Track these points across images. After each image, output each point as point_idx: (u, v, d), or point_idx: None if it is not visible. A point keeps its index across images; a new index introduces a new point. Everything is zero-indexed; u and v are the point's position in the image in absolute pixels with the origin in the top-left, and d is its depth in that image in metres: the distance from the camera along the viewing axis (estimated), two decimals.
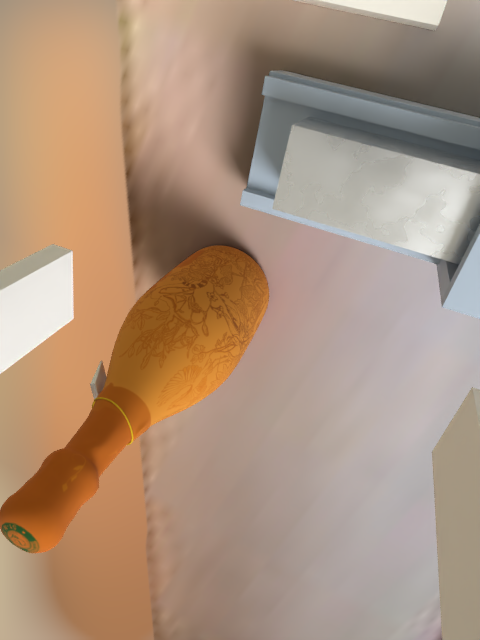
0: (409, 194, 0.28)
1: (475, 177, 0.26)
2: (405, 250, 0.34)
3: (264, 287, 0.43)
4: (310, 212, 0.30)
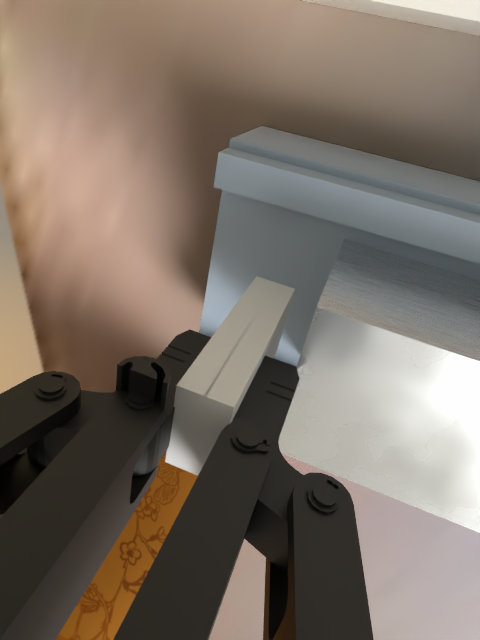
0: None
1: None
2: None
3: None
4: (353, 469, 0.14)
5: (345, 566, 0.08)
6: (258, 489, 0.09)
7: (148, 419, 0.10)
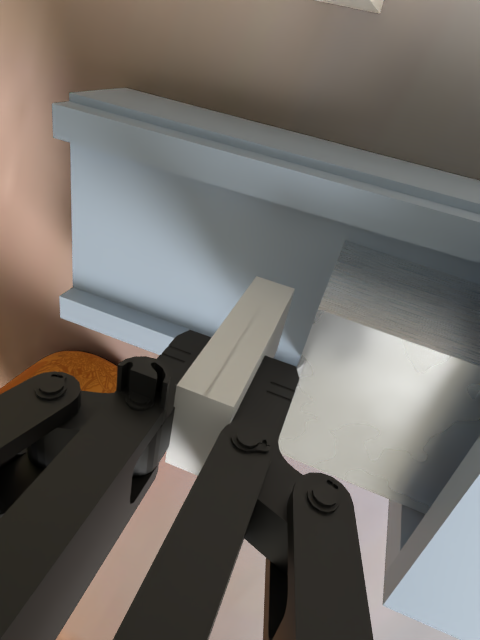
0: None
1: None
2: None
3: None
4: (350, 470, 0.14)
5: (345, 566, 0.08)
6: (258, 489, 0.09)
7: (148, 419, 0.10)
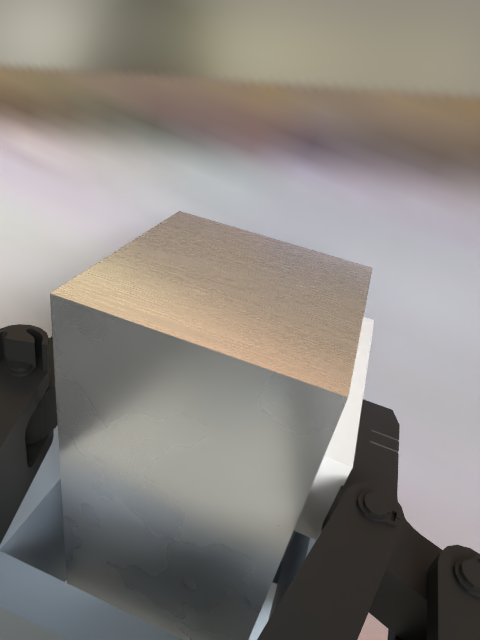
0: (131, 608, 0.13)
1: (70, 517, 0.12)
2: None
3: None
4: None
5: None
6: (384, 567, 0.08)
7: (32, 382, 0.10)
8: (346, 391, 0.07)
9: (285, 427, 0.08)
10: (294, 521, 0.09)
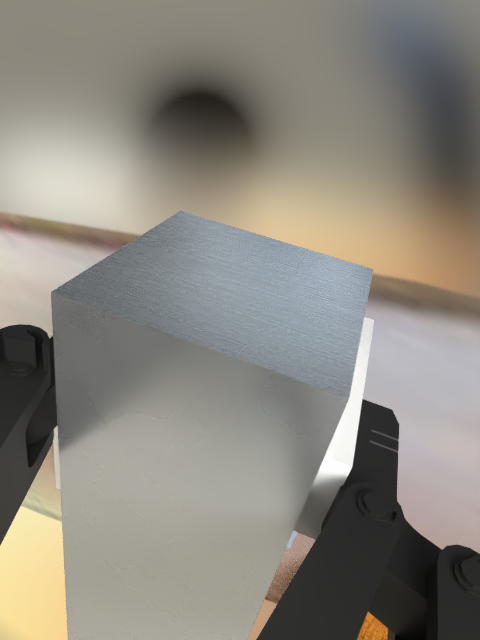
0: (129, 608, 0.13)
1: (69, 517, 0.12)
2: None
3: None
4: None
5: None
6: (383, 567, 0.08)
7: (33, 382, 0.10)
8: (347, 392, 0.07)
9: (285, 427, 0.08)
10: (294, 522, 0.09)
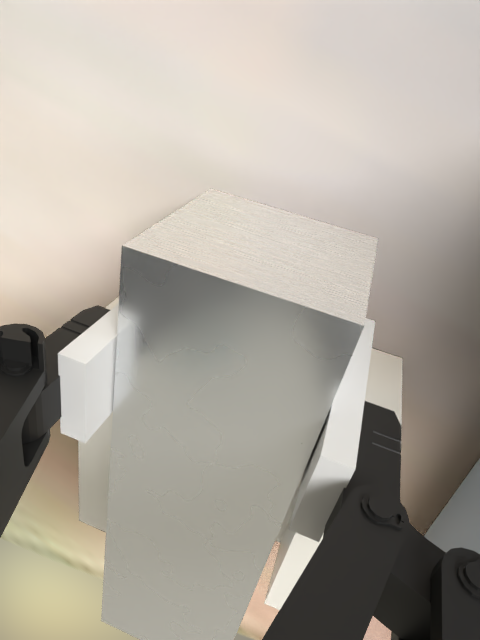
0: (165, 533, 0.15)
1: (117, 449, 0.14)
2: None
3: None
4: None
5: None
6: (388, 571, 0.08)
7: (28, 382, 0.10)
8: (362, 322, 0.09)
9: (312, 354, 0.10)
10: (315, 438, 0.11)
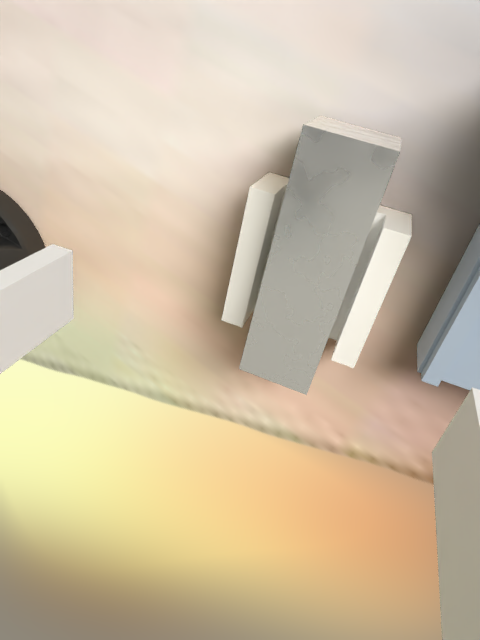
0: (293, 286, 0.30)
1: (277, 235, 0.29)
2: None
3: None
4: (309, 365, 0.33)
5: None
6: None
7: None
8: (399, 151, 0.24)
9: (378, 167, 0.25)
10: (376, 210, 0.26)
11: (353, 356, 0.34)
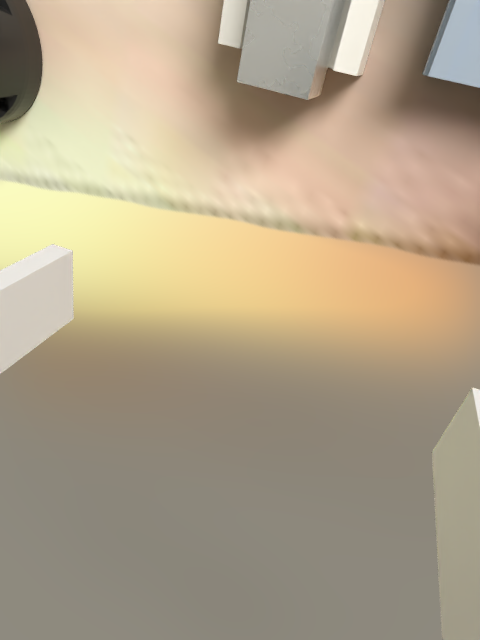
0: None
1: None
2: None
3: None
4: (310, 56, 0.31)
5: None
6: None
7: None
8: None
9: None
10: None
11: (355, 59, 0.33)
